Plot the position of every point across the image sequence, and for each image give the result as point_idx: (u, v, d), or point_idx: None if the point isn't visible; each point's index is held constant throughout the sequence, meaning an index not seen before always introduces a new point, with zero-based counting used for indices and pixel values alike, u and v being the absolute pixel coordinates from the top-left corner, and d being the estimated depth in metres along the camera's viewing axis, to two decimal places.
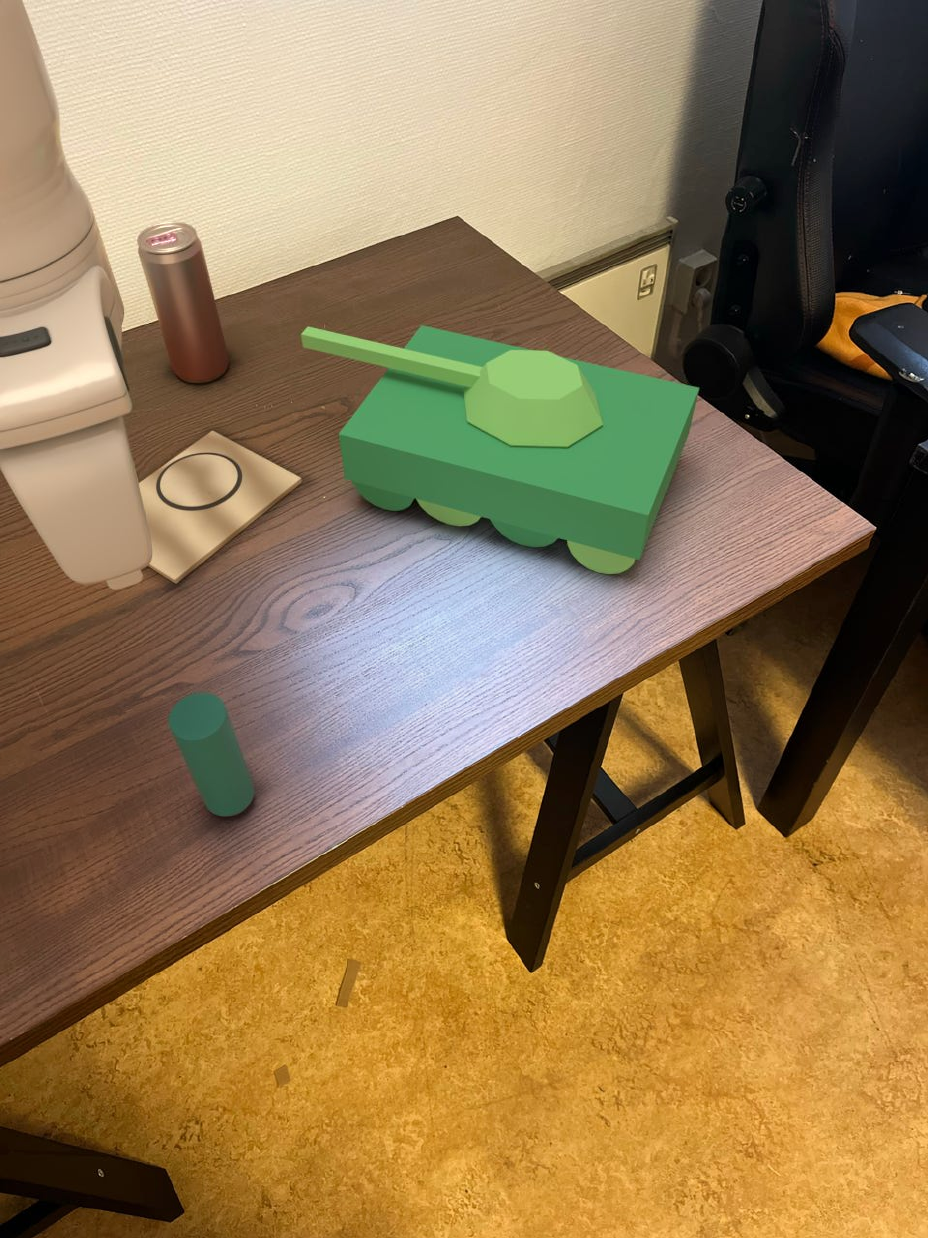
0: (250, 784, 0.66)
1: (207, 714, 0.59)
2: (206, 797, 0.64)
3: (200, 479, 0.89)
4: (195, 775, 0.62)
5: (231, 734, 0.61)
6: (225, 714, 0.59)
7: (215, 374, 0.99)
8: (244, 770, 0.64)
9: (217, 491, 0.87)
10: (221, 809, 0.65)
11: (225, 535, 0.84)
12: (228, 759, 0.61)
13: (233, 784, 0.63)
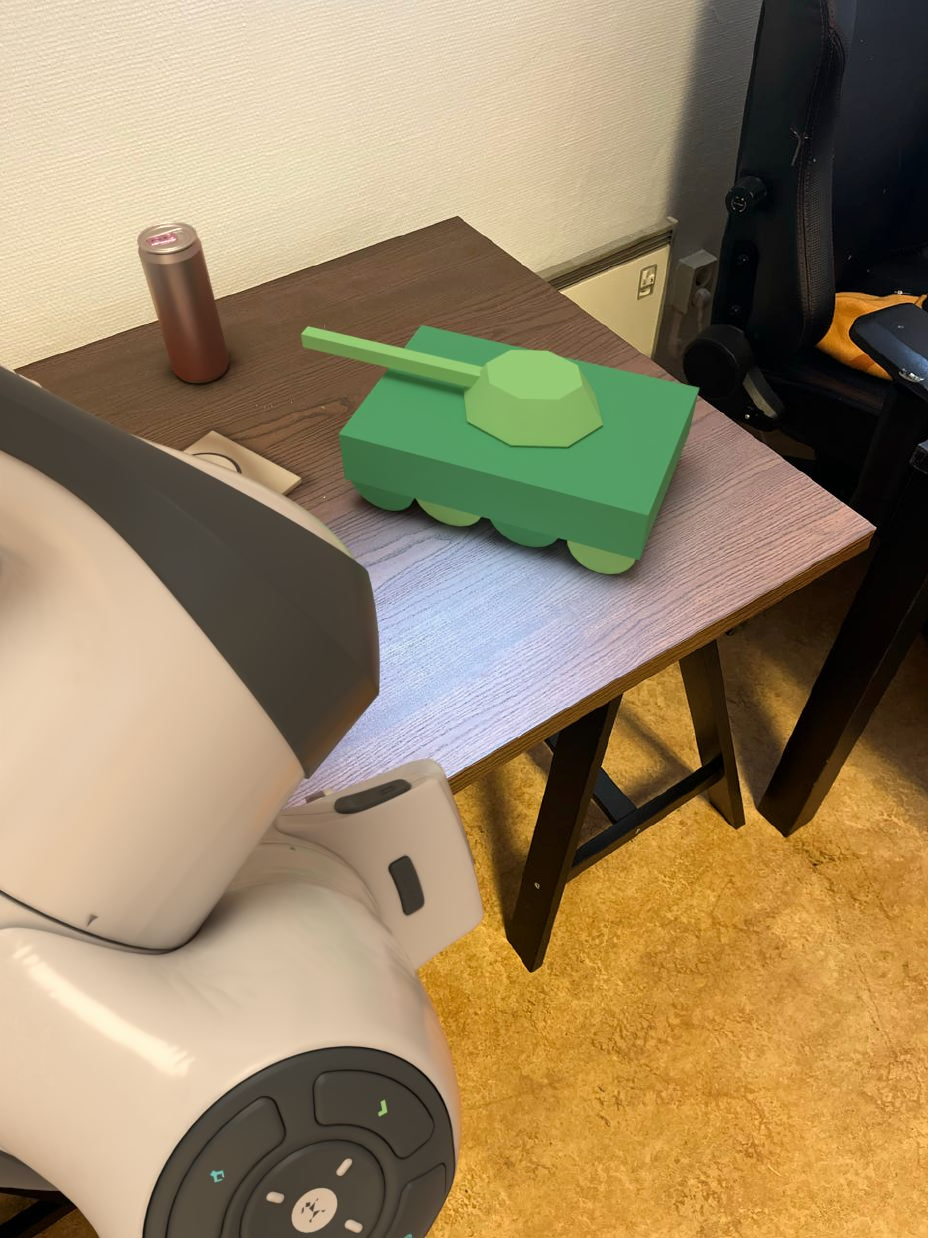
0: None
1: None
2: None
3: None
4: None
5: None
6: None
7: (215, 374, 0.99)
8: None
9: None
10: None
11: None
12: None
13: None
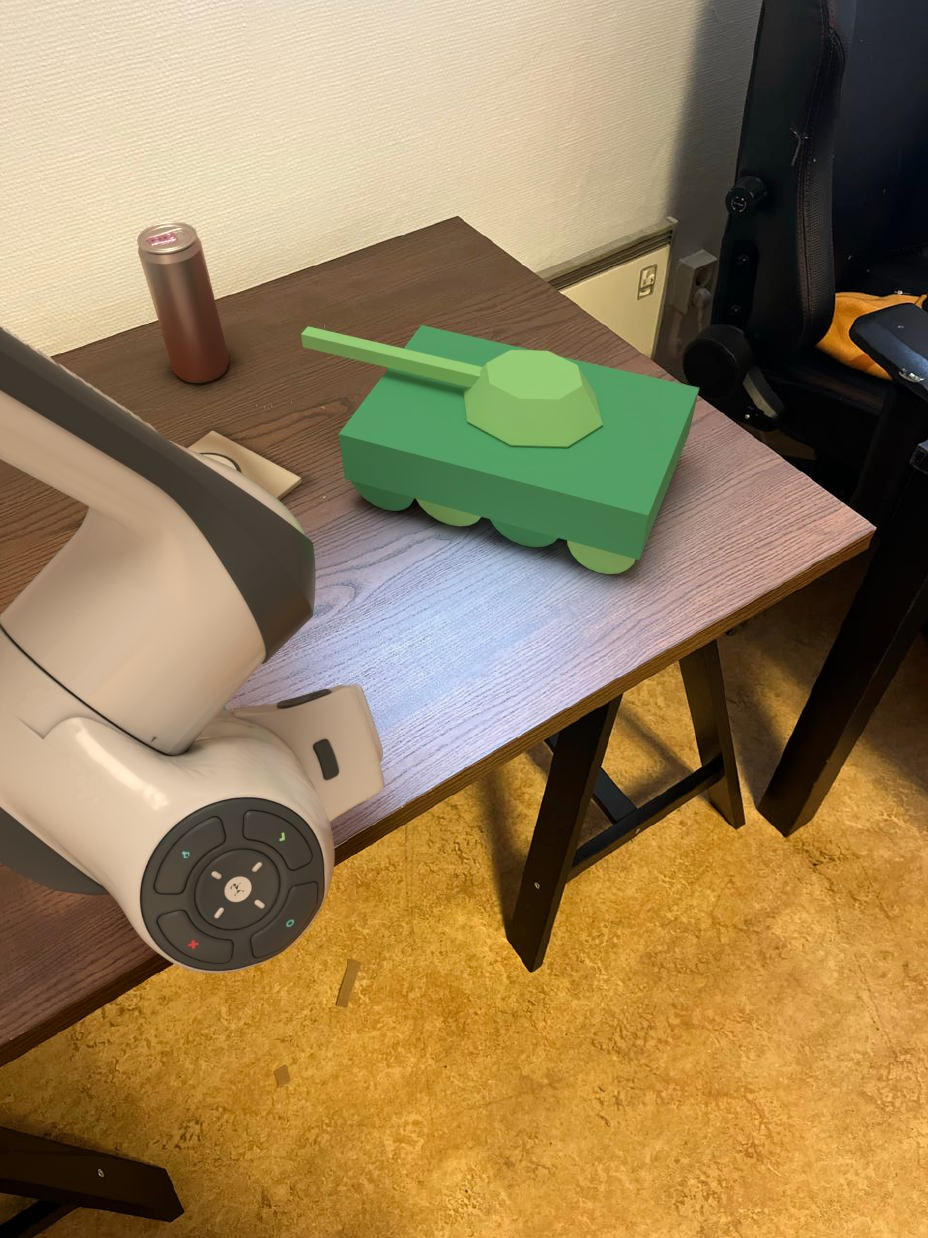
0: None
1: None
2: None
3: None
4: None
5: None
6: None
7: (215, 374, 0.99)
8: None
9: None
10: None
11: None
12: None
13: None
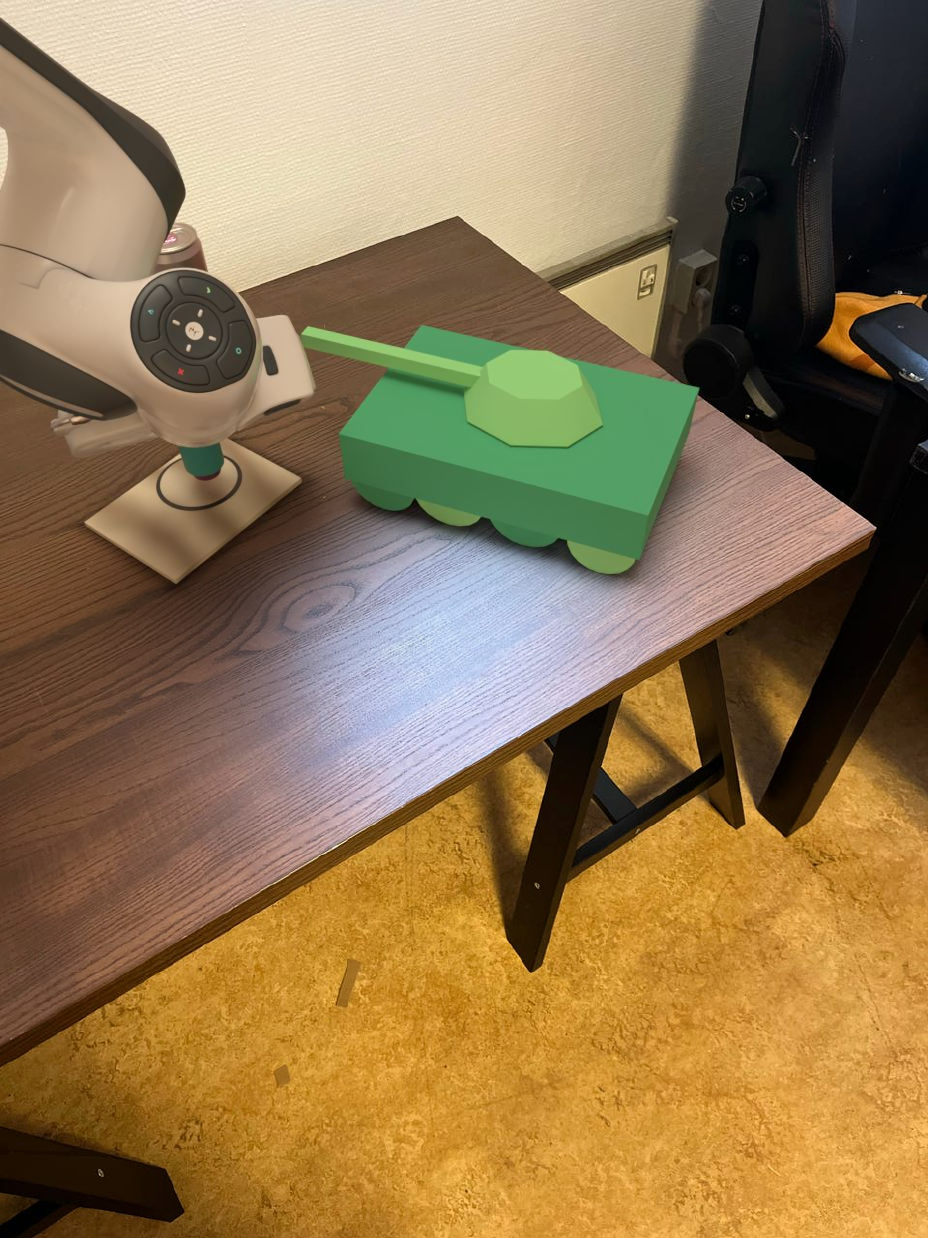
0: (220, 451, 0.85)
1: None
2: (185, 454, 0.83)
3: None
4: None
5: None
6: None
7: None
8: None
9: (217, 491, 0.87)
10: (197, 467, 0.84)
11: (225, 535, 0.84)
12: None
13: None
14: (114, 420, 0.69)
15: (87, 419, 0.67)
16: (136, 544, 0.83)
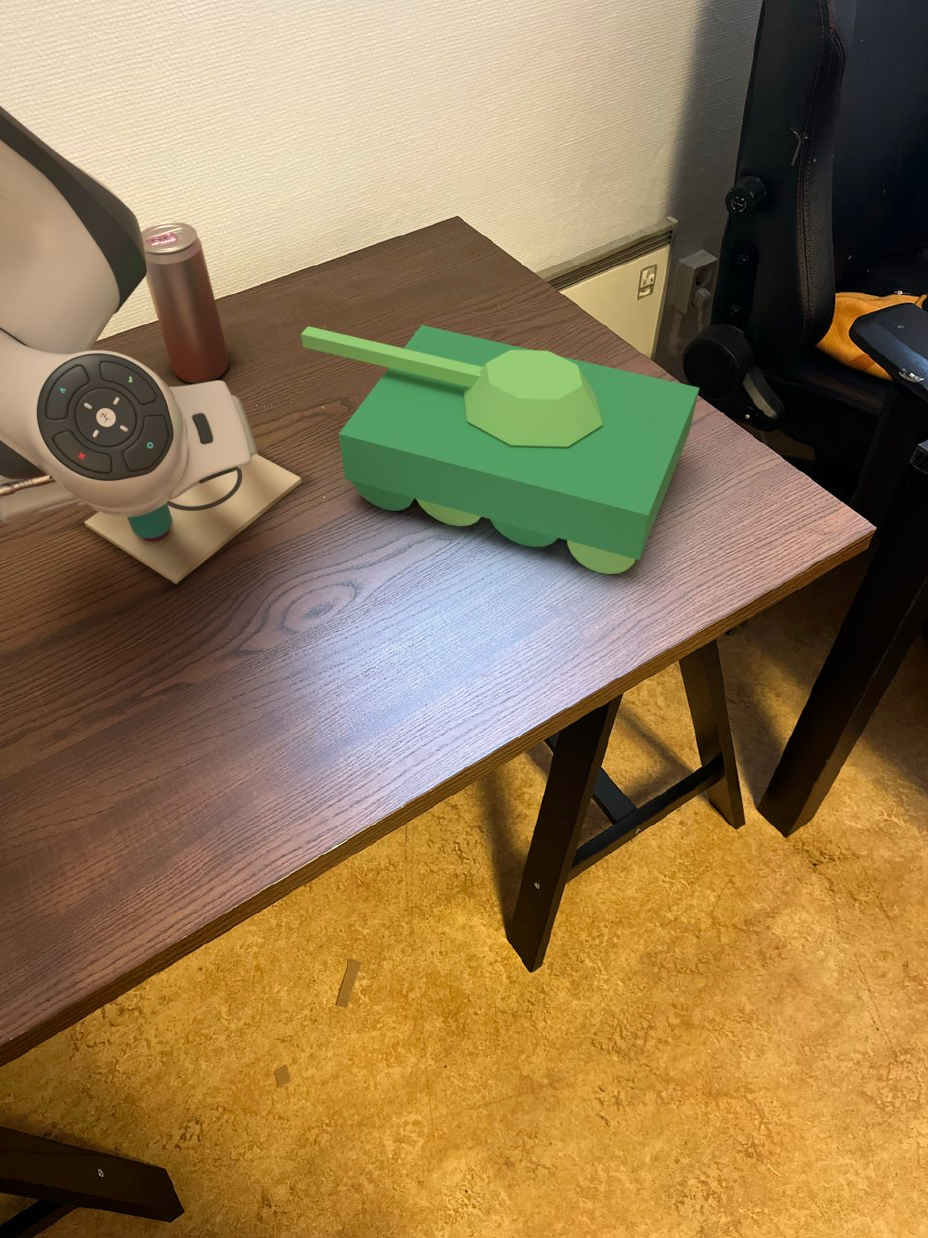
0: (167, 512, 0.82)
1: None
2: (131, 517, 0.81)
3: None
4: None
5: None
6: None
7: (215, 374, 0.99)
8: None
9: (217, 491, 0.87)
10: (144, 529, 0.82)
11: (225, 535, 0.84)
12: None
13: None
14: (42, 490, 0.67)
15: (12, 491, 0.65)
16: (136, 544, 0.83)
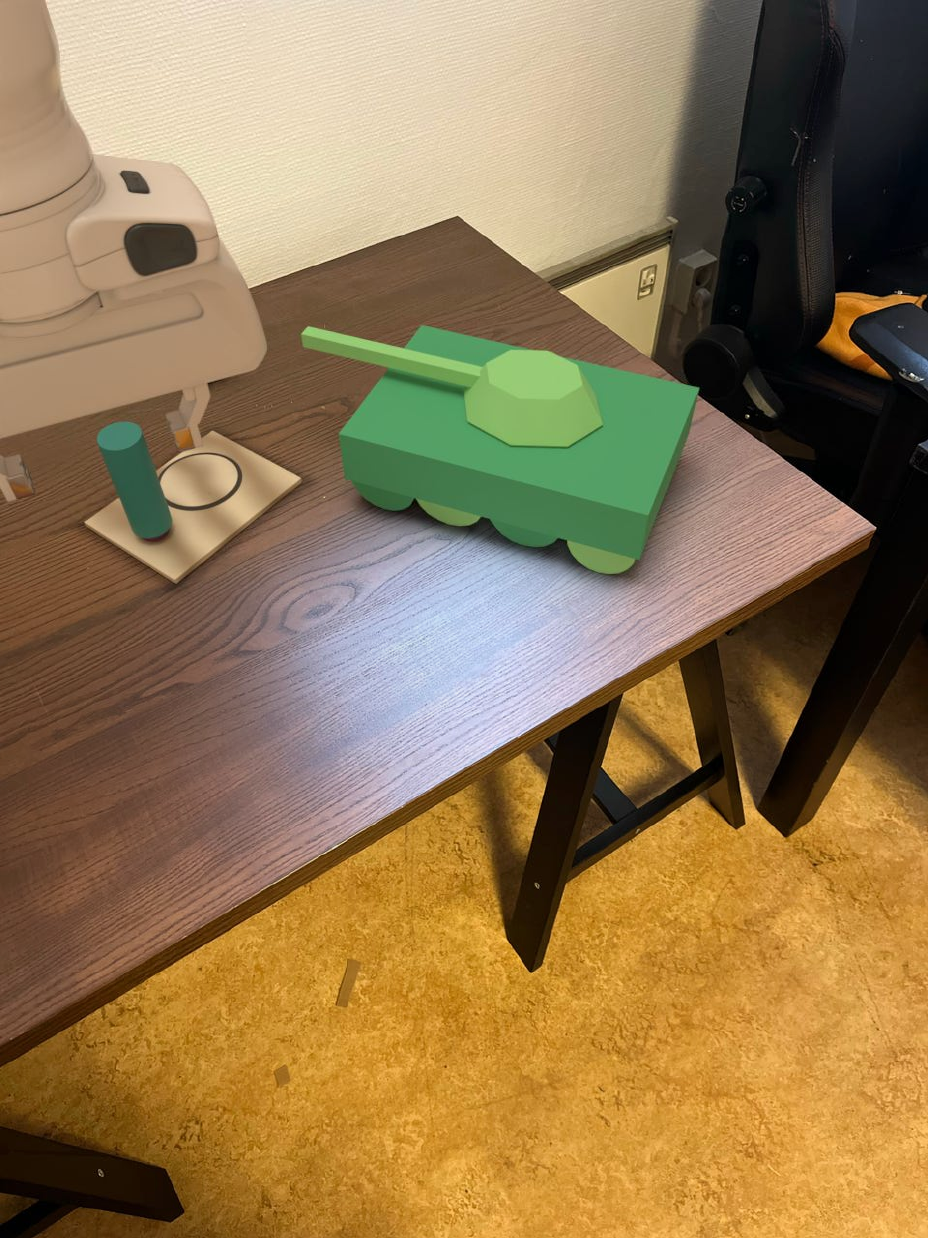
0: (167, 512, 0.82)
1: (127, 434, 0.76)
2: (131, 517, 0.81)
3: (200, 479, 0.89)
4: (120, 492, 0.79)
5: (147, 455, 0.77)
6: (141, 434, 0.76)
7: None
8: (161, 495, 0.81)
9: (217, 491, 0.87)
10: (144, 529, 0.82)
11: (225, 535, 0.84)
12: (146, 476, 0.78)
13: (152, 503, 0.80)
14: None
15: None
16: (136, 544, 0.83)
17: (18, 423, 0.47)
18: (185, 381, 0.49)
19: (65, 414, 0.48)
